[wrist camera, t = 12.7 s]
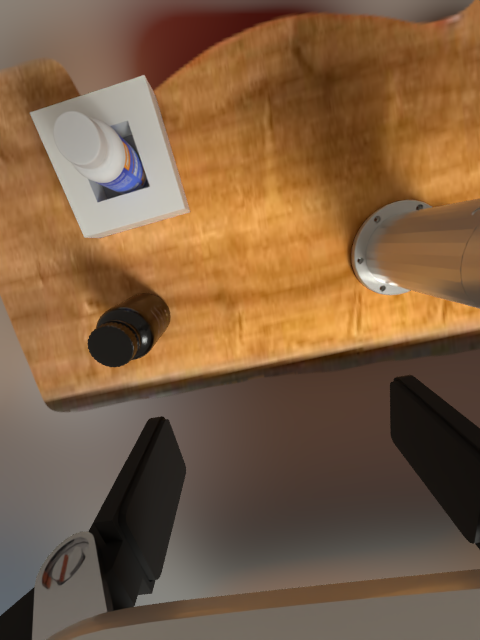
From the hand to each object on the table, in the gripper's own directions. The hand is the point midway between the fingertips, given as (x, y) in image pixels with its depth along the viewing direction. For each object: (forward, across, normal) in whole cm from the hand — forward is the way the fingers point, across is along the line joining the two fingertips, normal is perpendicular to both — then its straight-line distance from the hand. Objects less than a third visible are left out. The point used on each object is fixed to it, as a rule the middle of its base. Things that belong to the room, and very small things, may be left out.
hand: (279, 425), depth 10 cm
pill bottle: (+26, +13, -19) cm, 34 cm away
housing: (+26, +13, -19) cm, 35 cm away
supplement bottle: (+26, +16, 0) cm, 31 cm away
